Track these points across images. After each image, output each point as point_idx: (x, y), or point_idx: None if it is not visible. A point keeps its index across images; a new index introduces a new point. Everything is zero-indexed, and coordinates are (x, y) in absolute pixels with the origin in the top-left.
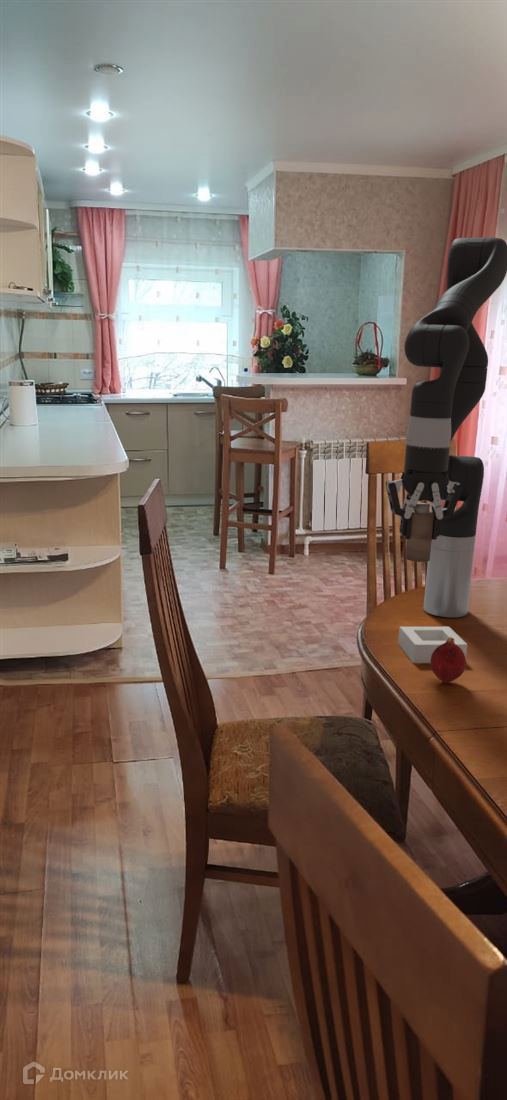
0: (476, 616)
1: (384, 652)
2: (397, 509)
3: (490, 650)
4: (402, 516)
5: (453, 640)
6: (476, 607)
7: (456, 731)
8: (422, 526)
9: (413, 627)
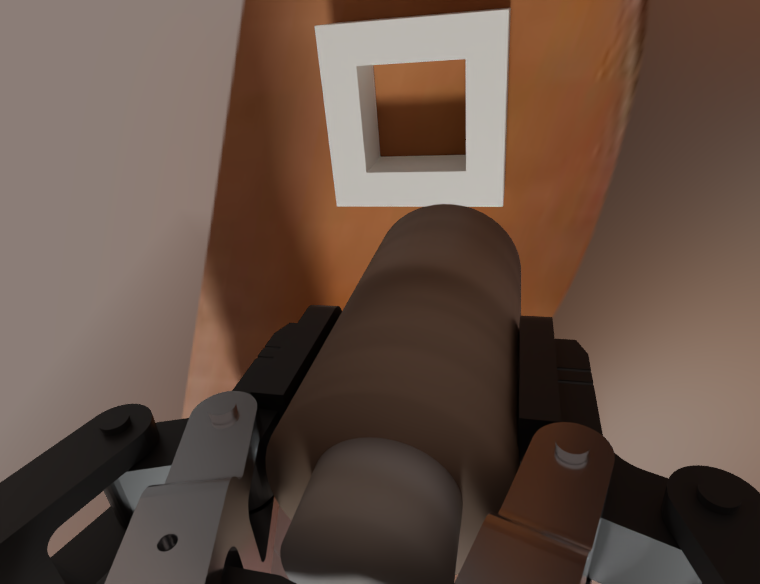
0: (236, 377)
1: (577, 112)
2: (738, 526)
3: (241, 138)
4: (616, 465)
5: None
6: None
7: None
8: (420, 325)
9: (456, 197)
